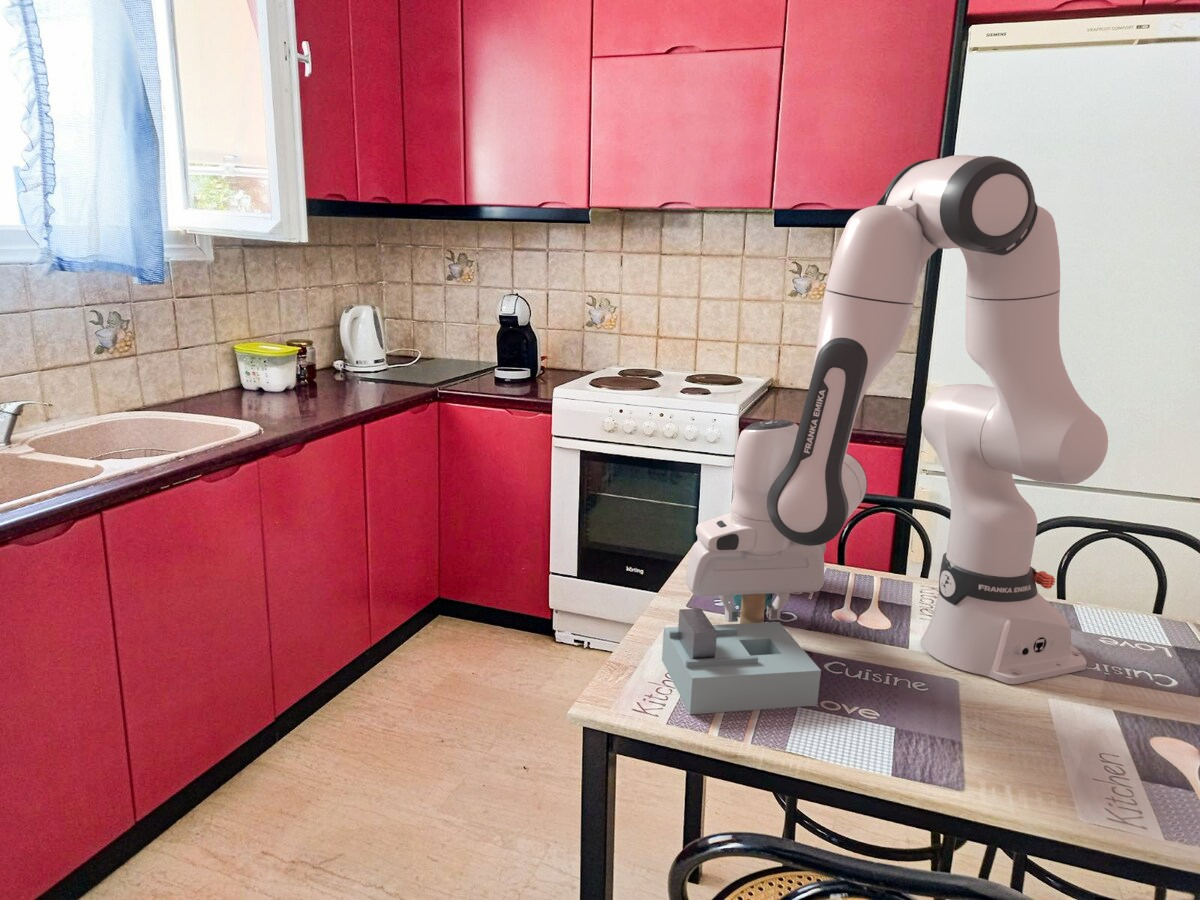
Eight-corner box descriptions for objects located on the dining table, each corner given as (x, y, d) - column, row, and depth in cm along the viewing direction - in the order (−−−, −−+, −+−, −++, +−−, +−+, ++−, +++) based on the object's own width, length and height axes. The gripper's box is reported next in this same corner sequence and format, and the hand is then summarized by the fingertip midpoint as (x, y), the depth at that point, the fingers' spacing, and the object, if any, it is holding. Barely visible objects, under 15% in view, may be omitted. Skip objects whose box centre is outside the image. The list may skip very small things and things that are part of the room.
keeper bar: (698, 635, 115) (700, 608, 114) (714, 660, 108) (717, 632, 107) (677, 636, 115) (679, 609, 114) (692, 661, 108) (694, 633, 107)
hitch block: (775, 653, 122) (779, 616, 121) (817, 705, 109) (821, 664, 107) (661, 660, 119) (664, 622, 118) (689, 714, 106) (692, 672, 104)
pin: (756, 635, 127) (762, 574, 125) (764, 646, 124) (770, 583, 122) (735, 637, 127) (740, 574, 124) (742, 647, 124) (748, 584, 121)
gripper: (818, 521, 126) (809, 607, 129) (685, 525, 122) (680, 613, 126) (837, 536, 120) (827, 625, 123) (698, 540, 116) (692, 632, 120)
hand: (752, 619), depth 125 cm, fingers open, 5 cm apart
